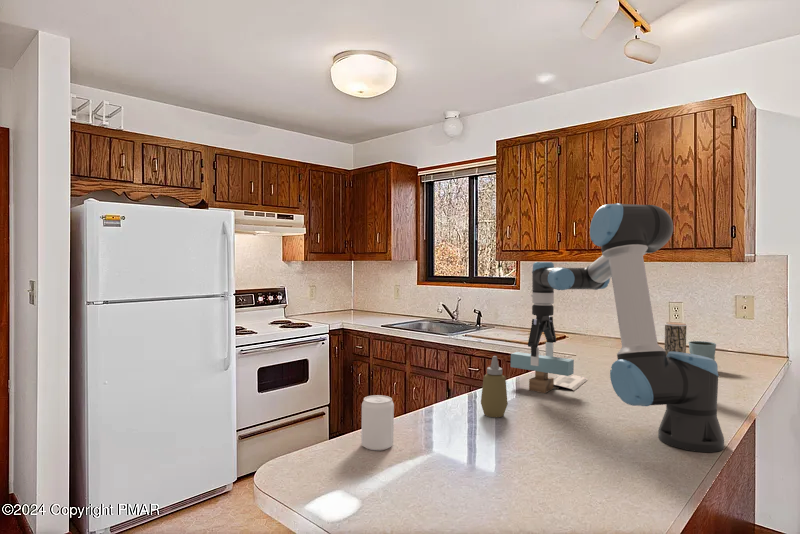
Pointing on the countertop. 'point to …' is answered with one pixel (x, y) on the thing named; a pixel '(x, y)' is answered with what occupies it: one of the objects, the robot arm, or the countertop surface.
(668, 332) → the bark covered log
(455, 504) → the countertop surface
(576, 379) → the newspaper
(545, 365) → the bar
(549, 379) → the fulcrum
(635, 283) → the robot arm
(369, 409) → the beverage can
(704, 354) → the grey green cup
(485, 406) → the squeeze bottle
